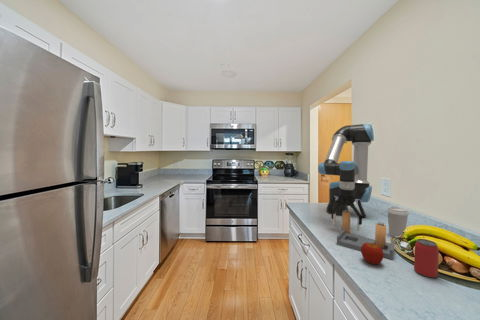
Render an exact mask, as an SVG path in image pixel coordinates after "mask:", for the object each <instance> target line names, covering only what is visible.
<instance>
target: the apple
mask: <svg viewBox="0 0 480 320" xmlns="http://www.w3.org/2000/svg"><path fill="white" fill-rule="evenodd" d="M360 252H361V256H362V258H363V260H364V261H366V262H367V263H369V264H370V265H371V264H372V265H379V264H381V263H382V262H383V259H384V254H383V251H382V249H381V248H380V247H379V246H378V245H376V244H373V243H364V244H363V245H362V246H361V251H360Z"/></svg>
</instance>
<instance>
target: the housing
mask: <svg viewBox="0 0 480 320" xmlns="http://www.w3.org/2000/svg"><path fill="white" fill-rule="evenodd" d="M374 230H375V233H374V234H375V235H374V236H375V238H370V237H366V236H361V235H356V234H353V233H350V234H349V233H346V229H343V230H342V229H341V231H340V232H339V233H338V235H336V245H337V246H340V247H345V248H349V249H353V250H356V251H360V252H361V246H362V245H363V244H364V243H373V244H376V245H378V246H379V247H380V248H381V249H382V251H383V254H384V257H383V259H388V260H391V261H393V260H394V254H395V249H394V246H395V245H396V240H394V239H392V240H391V243H390V242H387V225H386V224H385V223H384V222H380V221H378V222H377V223H375V229H374Z"/></svg>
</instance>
